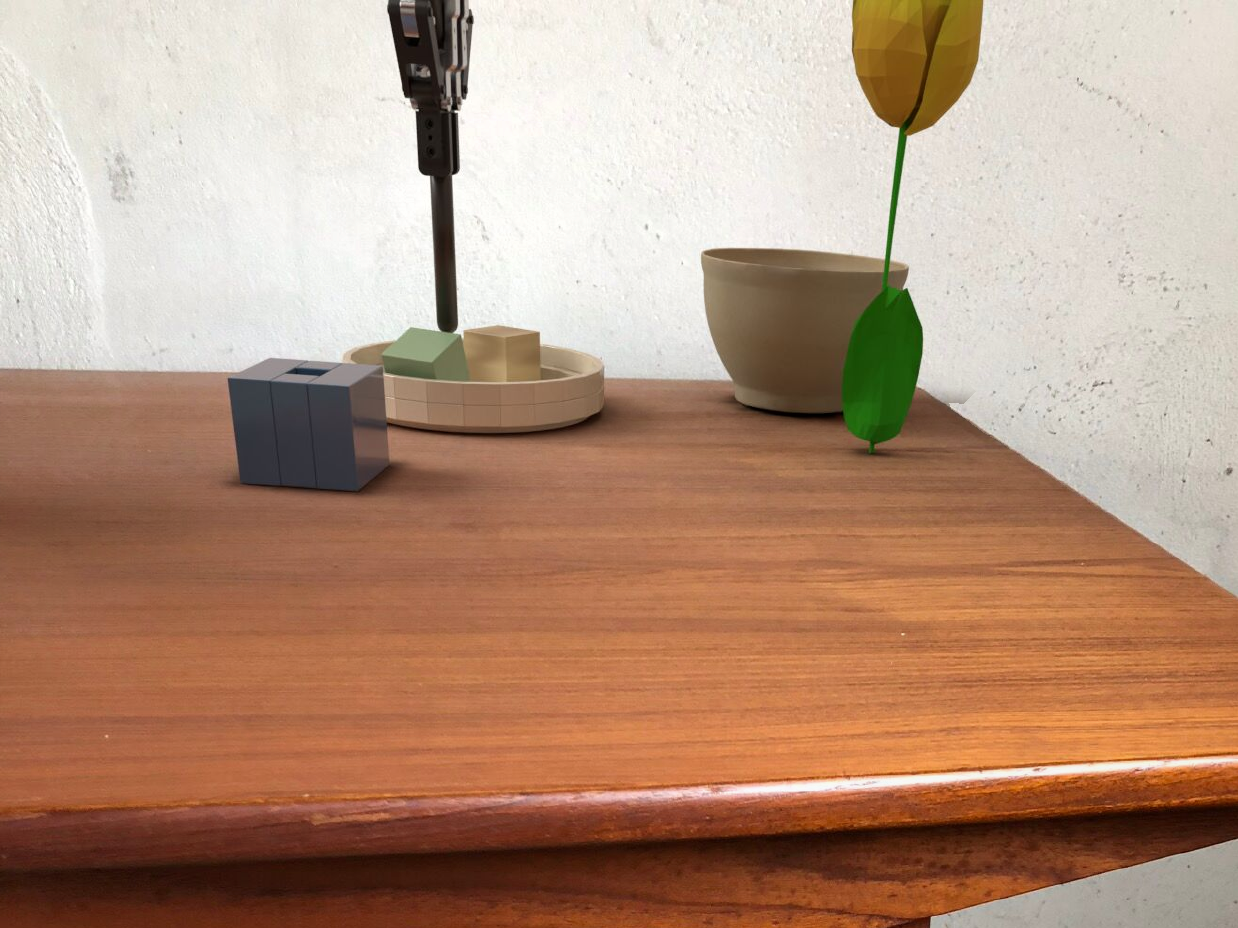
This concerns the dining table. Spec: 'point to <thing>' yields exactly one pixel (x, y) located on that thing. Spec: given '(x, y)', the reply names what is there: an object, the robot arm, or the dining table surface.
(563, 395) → the cream bowl
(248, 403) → the stick holder
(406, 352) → the sage block
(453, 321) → the stirring stick
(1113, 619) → the dining table surface
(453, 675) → the dining table surface
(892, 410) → the flower
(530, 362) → the birch block
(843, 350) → the planter bowl
